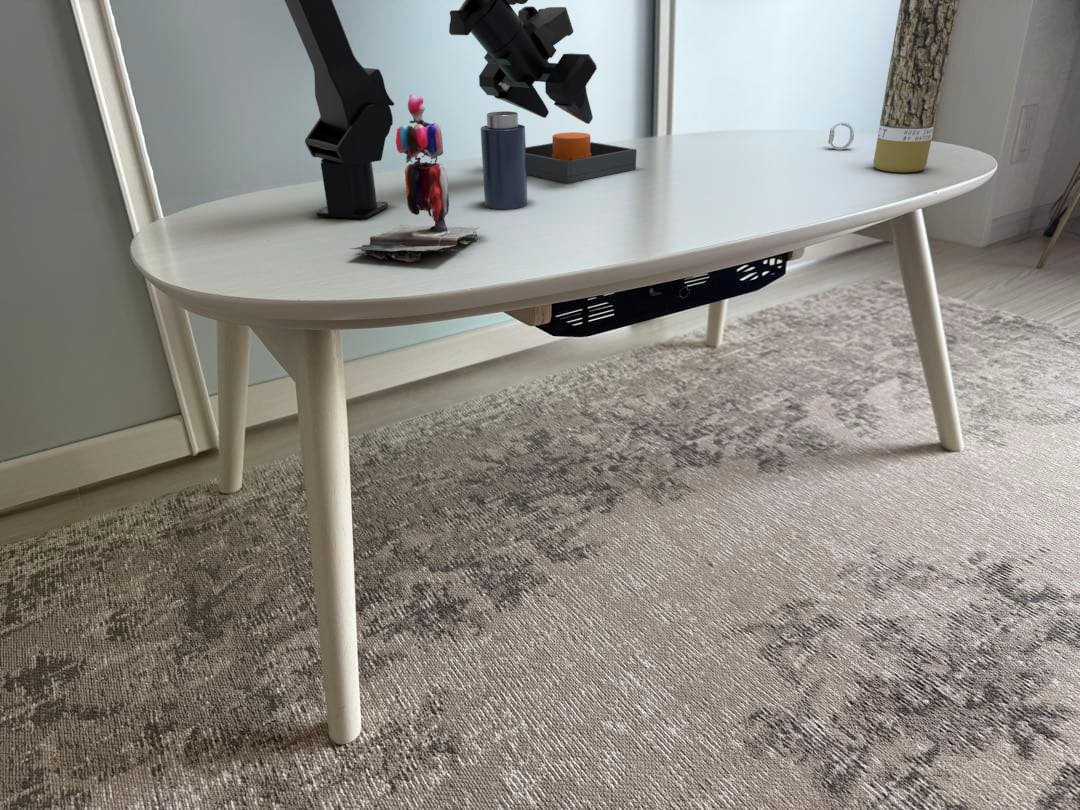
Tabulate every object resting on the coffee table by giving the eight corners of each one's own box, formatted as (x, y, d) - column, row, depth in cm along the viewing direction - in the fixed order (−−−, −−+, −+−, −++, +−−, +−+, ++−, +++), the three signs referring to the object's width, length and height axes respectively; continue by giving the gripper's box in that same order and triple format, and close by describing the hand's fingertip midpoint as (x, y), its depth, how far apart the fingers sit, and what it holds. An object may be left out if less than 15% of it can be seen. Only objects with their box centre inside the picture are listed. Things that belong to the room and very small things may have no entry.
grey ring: (852, 148, 123) (855, 121, 121) (852, 150, 121) (855, 123, 119) (827, 148, 124) (831, 121, 122) (827, 150, 122) (830, 123, 121)
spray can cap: (595, 165, 111) (595, 136, 109) (559, 169, 110) (559, 139, 108) (582, 159, 116) (582, 131, 114) (548, 162, 115) (547, 133, 113)
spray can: (520, 210, 92) (517, 116, 88) (478, 208, 94) (473, 116, 89) (532, 200, 97) (529, 110, 92) (492, 198, 98) (488, 110, 93)
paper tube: (929, 166, 109) (970, -39, 98) (920, 175, 104) (963, -40, 92) (878, 162, 112) (912, -37, 101) (867, 171, 107) (902, -38, 96)
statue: (402, 243, 85) (392, 96, 80) (481, 247, 83) (477, 94, 77) (349, 260, 76) (334, 93, 70) (437, 265, 73) (428, 92, 68)
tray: (567, 183, 105) (567, 162, 104) (507, 170, 114) (506, 150, 113) (636, 169, 112) (636, 149, 111) (574, 157, 122) (574, 139, 120)
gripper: (586, -20, 93) (646, 74, 104) (492, -16, 105) (554, 68, 117) (536, 56, 92) (602, 143, 103) (447, 51, 104) (515, 129, 116)
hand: (567, 118), depth 110 cm, fingers open, 9 cm apart
